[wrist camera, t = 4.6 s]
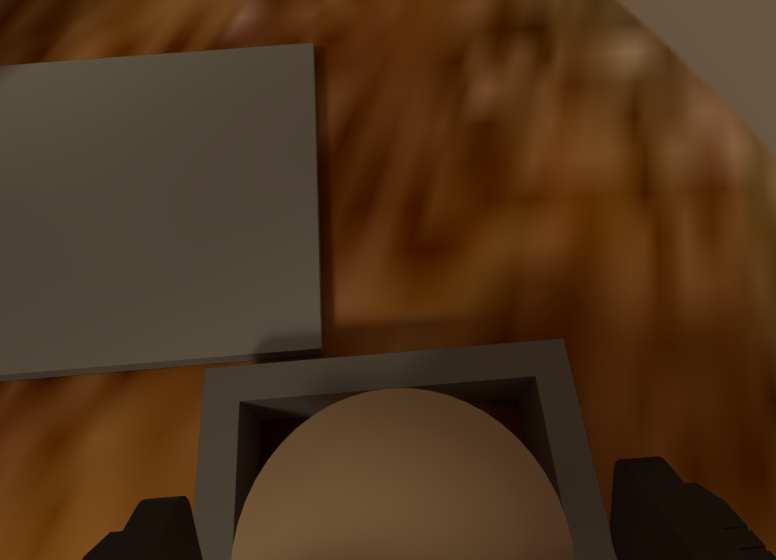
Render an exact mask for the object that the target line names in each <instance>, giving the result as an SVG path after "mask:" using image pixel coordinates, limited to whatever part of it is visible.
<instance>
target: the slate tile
mask: <svg viewBox="0 0 776 560" xmlns="http://www.w3.org/2000/svg"><path fill="white" fill-rule="evenodd" d="M322 354H324V345H323V310H322V274H321V239H320V203H319V167H318V132H317V96H316V61H315V49H314V44H313V43H303V44H289V45H276V46H262V47H248V48H235V49H221V50H208V51H194V52H180V53H167V54H153V55H140V56H126V57H112V58H99V59H85V60H72V61H58V62H45V63H31V64H17V65H4V66H0V381H12V380H24V379H36V378H48V377H60V376H71V375H83V374H95V373H107V372H119V371H131V370H143V369H155V368H167V367H179V366H191V365H203V364H215V363H227V362H239V361H251V360H262V359H274V358H286V357H298V356H310V355H322Z"/></svg>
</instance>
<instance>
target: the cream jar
mask: <svg viewBox="0 0 776 560" xmlns="http://www.w3.org/2000/svg"><path fill="white" fill-rule="evenodd" d="M231 560H575V554H574V547H573V541H572V538H571V534H570V530H569V527H568V523H567V519H566V516H565V514H564V511H563V509H562V506H561V504H560V501H559V499H558V496H557V494H556V492H555V490H554V488H553V486H552V485H551V483H550V481H549V479H548V477H547V475H546V473H545V472H544V471H543V469H542V468H541V466H540V465H539V463H538V462H537V461H536V459H535V458H534V456H533V455H532V454H531V453H530V451H529V450H528V449H527V448H526V447H525V446H524V445H523V444H522V442H521V441H520V440H519V439H518V438H517V437H516V436H515V435H514V434H512V433H511V432H510V431H509V430H508V429H507V428H506V427H505V426H504V425H502V424H501V423H500V422H498V421H497V420H495V419H494V418H493V417H491V416H490V415H488V414H487V413H485V412H484V411H482V410H480V409H478V408H476V407H474V406H473V405H471V404H469V403H467V402H465V401H462V400H459V399H457V398H454V397H451V396H449V395H446V394H441V393H437V392H433V391H429V390H421V389H412V388H388V389H382V390H375V391H369V392H365V393H361V394H358V395H354V396H351V397H348V398H346V399H344V400H341V401H339V402H337V403H334V404H332V405H330V406H328V407H327V408H325V409H323V410H321V411H320V412H318V413H316V414H315V415H313V416H312V417H310V418H309V419H308V420H307V421H305V422H304V423H303V424H301V425H300V426H299V427H297V428H296V429H295V430H294V431H293V432H292V433H291V434H290V435H289V436H288V437H287V438H286V439H285V440H284V441H283V442H282V443H281V444H280V445H279V447H278V448H277V449H276V450H275V452H274V453H273V454H272V455H271V457H270V458H269V459H268V461H267V462H266V464H265V465H264V467H263V468H262V470H261V472H260V473H259V475H258V476H257V478H256V480H255V482H254V484H253V486H252V488H251V490H250V492H249V494H248V497H247V499H246V501H245V504H244V507H243V510H242V513H241V515H240V518H239V521H238V525H237V529H236V534H235V538H234V543H233V547H232V557H231Z"/></svg>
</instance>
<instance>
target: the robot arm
mask: <svg viewBox="0 0 776 560" xmlns="http://www.w3.org/2000/svg"><path fill="white" fill-rule="evenodd" d="M610 533H611V539H612V544H613V548H614V551H615V554H616V557H617V559H618V560H776V557H775V556H774V555H773V554H772V553H771V552H770V551H767V550H766V548H765V545H764V544H763V543H762V542H761V541H760V539H759V538H758V537H757V536H756V535H755V534H754V533H753V532H752V531H749V530H748V528H747V525H746V524H745V523H744V522H743V521H742V519H741V518H740V517H739V516H738V515H737V514H736V513H735V512H734V511H733V510H732V508H731V507H730V506H729V505H728V504H727V503H726V502H725V501H724V500H722V499H720V498H719V497H717V496H716V495H714V494H713V493H711V492H710V491H708V490H707V489H705V488H703V487H702V486H700V485H699V484H697V483H687V484H685V483H684V482H683V481H682V480H681V479H680V477H679V476H678V475H677V474H676V473H675V471H674V470H673V469H672V468H671V467H670V465H669V464H668V463H667V462H666V461H665V460H664V459H663V458H661V457H658V456H656V457H645V458H633V459H621V460H618V461H617V462H616V463H615V466H614V475H613V490H612V504H611V518H610ZM82 560H203V559H202V554H201V550H200V545H199V541H198V537H197V532H196V528H195V523H194V519H193V515H192V510H191V506H190V503H189V500H188V499H187V497H185V496H177V497H165V498H154V499H144V500H142V501H141V502H140V503H139V504H138V505H137V507H136V509H135V510H134V512H133V514H132V516H131V517H130V519H129V521H128V523H127V524H126V526H125V528H124V530H123V531H118V532H110V533H109V534H108V535H107V536H106V537H105V538H103V539H102V540H101V541H100V542H99V543H98V544H97V545H96V546H95V547H94V548H93V549H92V550H91V551H89V552H88V553H87V554H86V555H85V556H84V557H83V559H82Z"/></svg>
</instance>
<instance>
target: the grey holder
mask: <svg viewBox="0 0 776 560" xmlns="http://www.w3.org/2000/svg"><path fill="white" fill-rule="evenodd" d="M388 388H412V389H421V390H429V391H433V392H437V393H441V394H446V395H449V396H451V397H454V398H457V399H459V400H462V401H465V402H467V403H480V402H492V401H503V400H515V399H518V405H519V410H520V415H521V420H522V426H523V431H524V436H525V441H526V447H527V449H528V450H529V451H530V453H531V454H532V455H533V456H534V458H535V459H536V461H537V462H538V463H539V465H540V466H541V468H542V469H543V471H544V472H545V473H546V475H547V477H548V479H549V481H550V483H551V485H552V486H553V488H554V490H555V492H556V494H557V496H558V499H559V501H560V504H561V506H562V509H563V511H564V514H565V516H566V519H567V523H568V527H569V530H570V534H571V538H572V541H573V547H574V554H575V560H617V557H616V554H615V551H614V548H613V544H612V539H611V533H610V528H609V524H608V520H607V516H606V511H605V507H604V503H603V499H602V495H601V491H600V487H599V483H598V478H597V474H596V470H595V466H594V462H593V458H592V454H591V450H590V445H589V441H588V437H587V433H586V429H585V425H584V421H583V416H582V412H581V408H580V404H579V400H578V396H577V392H576V388H575V383H574V379H573V375H572V371H571V367H570V363H569V359H568V354H567V350H566V346H565V342H564V338H561V339H549V340H537V341H525V342H513V343H501V344H489V345H477V346H466V347H454V348H442V349H430V350H418V351H406V352H394V353H382V354H370V355H358V356H346V357H334V358H323V359H311V360H299V361H287V362H275V363H263V364H251V365H239V366H227V367H215V368H205V370H204V384H203V397H202V410H201V423H200V437H199V450H198V463H197V476H196V490H195V503H194V516H193V519H194V523H195V528H196V532H197V537H198V541H199V545H200V550H201V554H202V559H203V560H231V557H232V547H233V543H234V538H235V534H236V529H237V525H238V521H239V518H240V515H241V513H242V510H243V507H244V504H245V501H246V499H247V497H248V494H249V492H250V490H251V488H252V486H253V484H254V482H255V480H256V478H257V476H258V475H259V473H260V439H261V421H270V420H282V419H293V418H305V417H312V416H313V415H315V414H316V413H318V412H320V411H321V410H323V409H325V408H327V407H328V406H330V405H332V404H334V403H337V402H339V401H341V400H344V399H346V398H348V397H351V396H354V395H358V394H361V393H365V392H369V391H375V390H382V389H388Z"/></svg>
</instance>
